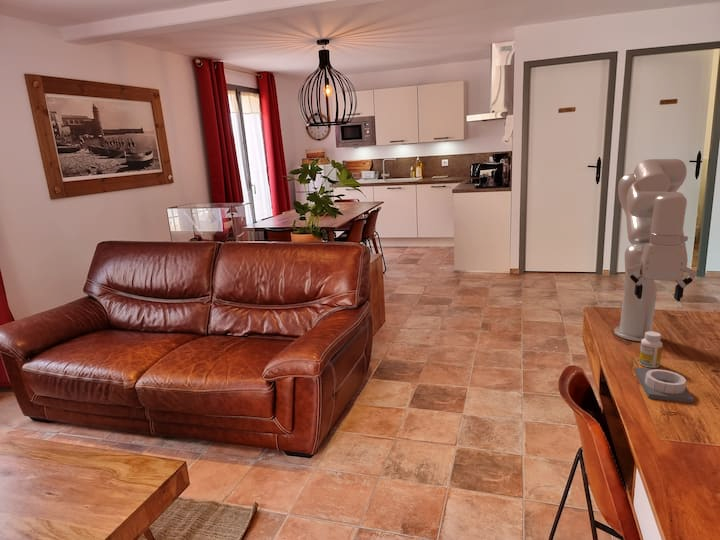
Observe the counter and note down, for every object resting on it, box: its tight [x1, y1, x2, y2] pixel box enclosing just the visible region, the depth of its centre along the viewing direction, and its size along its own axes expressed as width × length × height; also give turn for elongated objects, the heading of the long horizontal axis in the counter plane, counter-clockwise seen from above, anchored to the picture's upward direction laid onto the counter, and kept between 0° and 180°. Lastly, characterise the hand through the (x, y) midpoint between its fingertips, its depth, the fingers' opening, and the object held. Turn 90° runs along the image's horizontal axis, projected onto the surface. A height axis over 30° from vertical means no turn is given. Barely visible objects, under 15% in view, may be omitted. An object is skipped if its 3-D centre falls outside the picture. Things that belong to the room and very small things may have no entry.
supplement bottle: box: [638, 330, 663, 369], centre depth 142 cm, size 5×5×10 cm
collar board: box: [634, 367, 695, 404], centre depth 130 cm, size 16×10×4 cm, turn 162°
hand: (657, 298), depth 139 cm, fingers open, 9 cm apart
